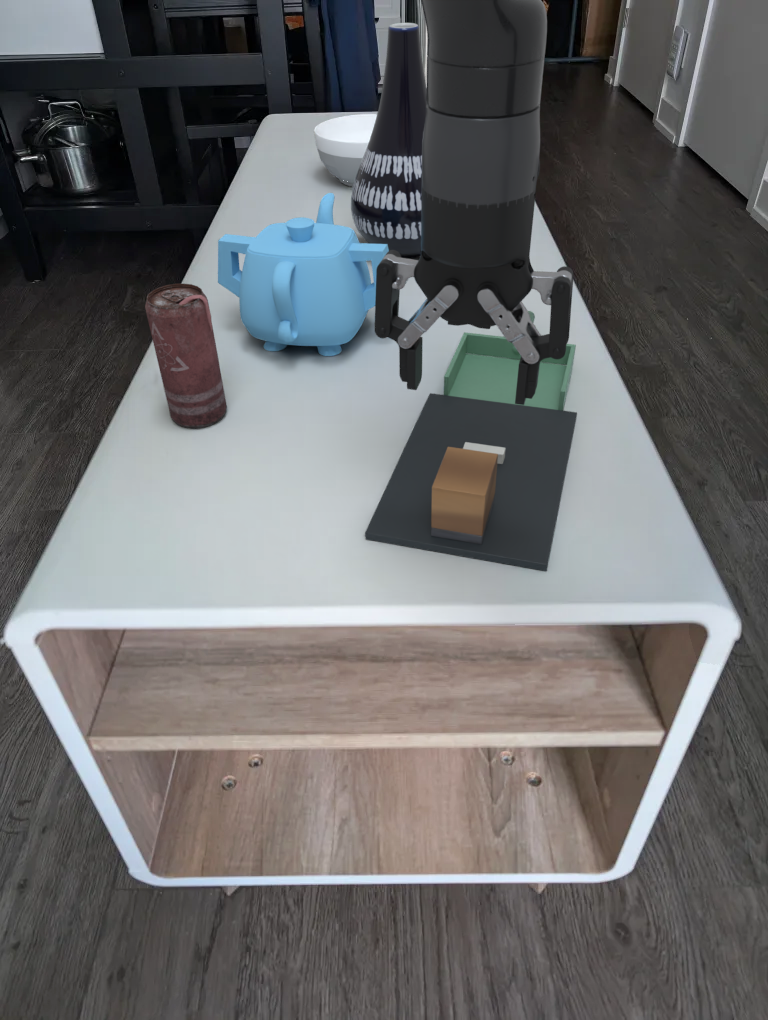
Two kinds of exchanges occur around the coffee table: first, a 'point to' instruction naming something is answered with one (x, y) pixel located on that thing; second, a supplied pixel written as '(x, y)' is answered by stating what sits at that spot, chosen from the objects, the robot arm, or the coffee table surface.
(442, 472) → the eraser
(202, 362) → the can
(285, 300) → the teapot
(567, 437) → the slate
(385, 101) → the vase
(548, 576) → the coffee table surface
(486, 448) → the chalk
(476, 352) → the dustpan
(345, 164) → the bowl
